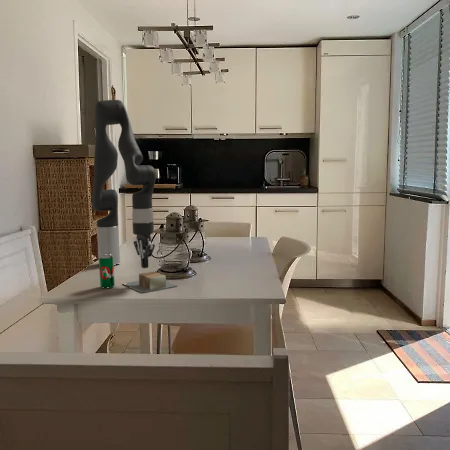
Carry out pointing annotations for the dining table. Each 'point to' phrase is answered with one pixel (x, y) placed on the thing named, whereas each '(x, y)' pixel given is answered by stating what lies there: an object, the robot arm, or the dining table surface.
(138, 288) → the mat
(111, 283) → the soda can
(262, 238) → the dining table surface
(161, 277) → the block
